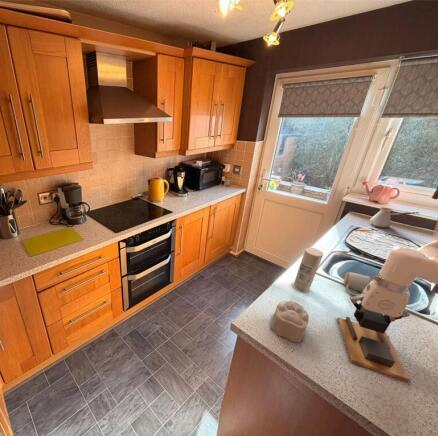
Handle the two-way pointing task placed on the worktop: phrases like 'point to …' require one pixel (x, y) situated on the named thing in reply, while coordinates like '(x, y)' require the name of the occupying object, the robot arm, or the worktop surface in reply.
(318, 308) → the worktop surface
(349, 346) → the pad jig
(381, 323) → the dark grey square block
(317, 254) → the spray can
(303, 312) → the lumpy-topped squat cylinder
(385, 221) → the coffee pot
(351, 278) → the ceramic mug
